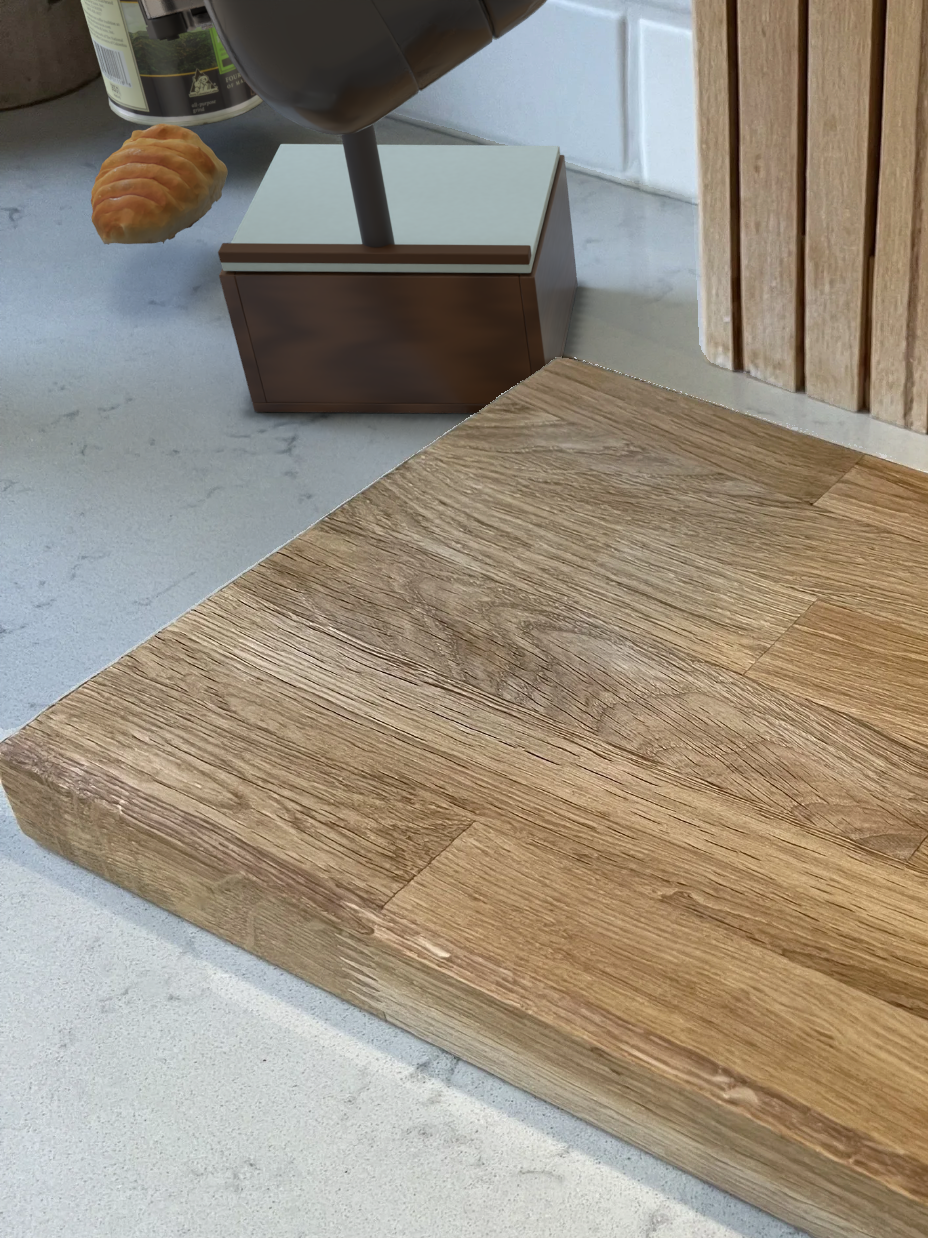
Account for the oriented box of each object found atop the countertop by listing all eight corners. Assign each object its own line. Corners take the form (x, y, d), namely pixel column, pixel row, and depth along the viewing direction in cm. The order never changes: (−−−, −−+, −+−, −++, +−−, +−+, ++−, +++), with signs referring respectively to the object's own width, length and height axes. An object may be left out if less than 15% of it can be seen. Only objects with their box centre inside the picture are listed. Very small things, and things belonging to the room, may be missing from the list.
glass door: (222, 272, 88) (179, 105, 82) (282, 152, 98) (247, -6, 92) (530, 274, 88) (510, 107, 82) (560, 154, 98) (544, -4, 92)
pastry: (186, 258, 98) (167, 193, 95) (69, 254, 98) (47, 189, 96) (237, 182, 105) (221, 119, 102) (127, 179, 105) (108, 116, 102)
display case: (254, 412, 94) (218, 275, 88) (309, 283, 104) (279, 152, 98) (551, 414, 94) (534, 277, 88) (577, 285, 104) (564, 154, 98)
